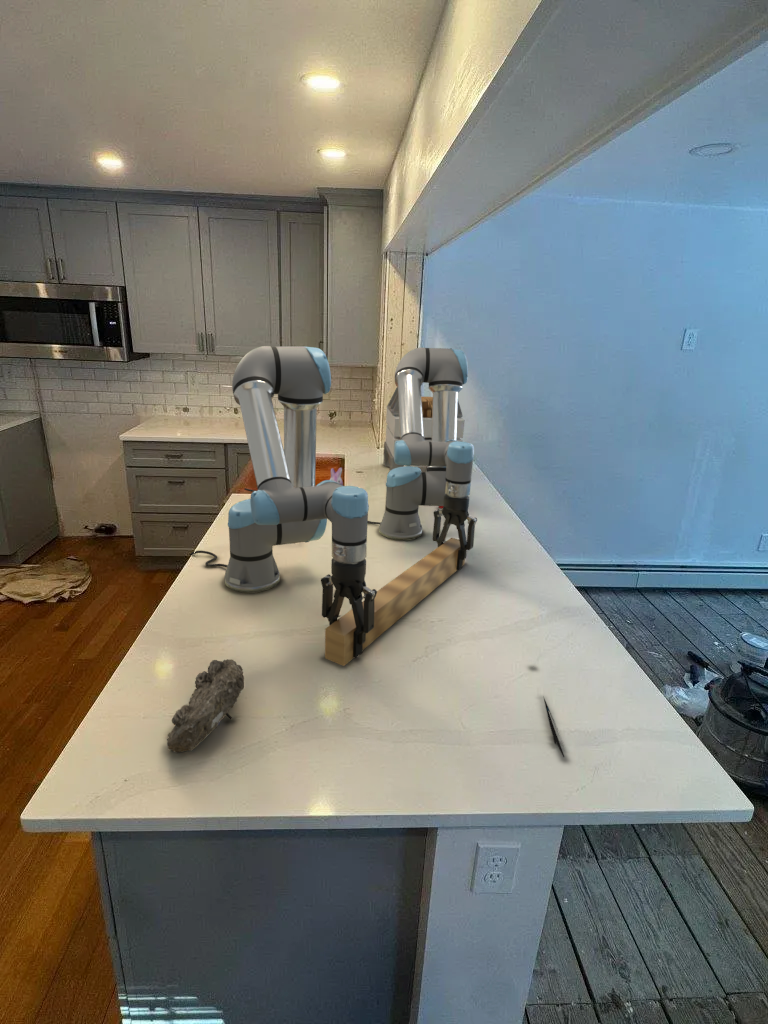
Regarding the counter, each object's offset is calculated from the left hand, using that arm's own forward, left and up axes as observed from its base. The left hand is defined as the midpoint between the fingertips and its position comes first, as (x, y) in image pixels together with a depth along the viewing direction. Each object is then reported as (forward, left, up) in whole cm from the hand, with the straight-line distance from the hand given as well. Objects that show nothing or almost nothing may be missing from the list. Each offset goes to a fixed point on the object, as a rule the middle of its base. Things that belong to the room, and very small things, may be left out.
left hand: (346, 650), depth 130 cm
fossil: (+2, -34, 0) cm, 34 cm away
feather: (+40, +20, 0) cm, 45 cm away
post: (-9, +27, 0) cm, 28 cm away
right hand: (-17, +53, 0) cm, 56 cm away
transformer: (-100, +119, 0) cm, 156 cm away
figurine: (-84, +59, 0) cm, 102 cm away
